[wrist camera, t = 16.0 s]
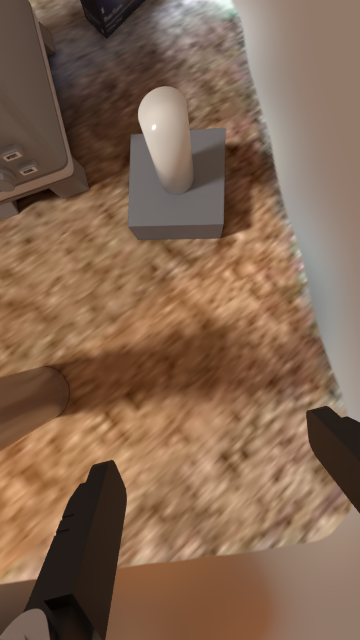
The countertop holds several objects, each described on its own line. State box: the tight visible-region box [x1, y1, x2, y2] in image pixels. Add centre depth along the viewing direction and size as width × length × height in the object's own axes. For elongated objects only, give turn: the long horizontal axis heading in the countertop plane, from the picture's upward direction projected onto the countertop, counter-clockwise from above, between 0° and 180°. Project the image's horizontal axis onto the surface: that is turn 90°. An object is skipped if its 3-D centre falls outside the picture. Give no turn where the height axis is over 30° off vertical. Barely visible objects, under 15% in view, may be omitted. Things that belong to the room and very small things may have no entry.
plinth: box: [128, 128, 226, 240], centre depth 34 cm, size 14×14×5 cm
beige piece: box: [138, 86, 194, 195], centre depth 27 cm, size 5×5×10 cm
